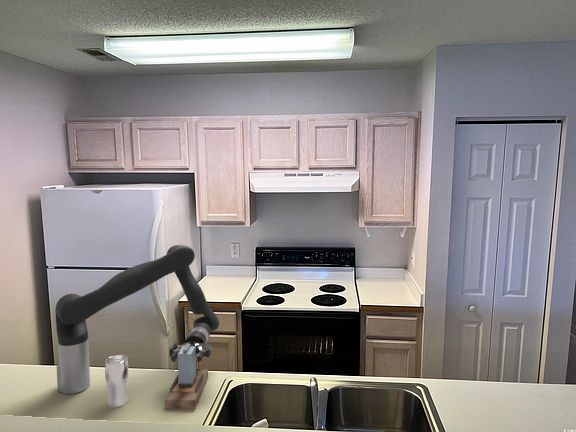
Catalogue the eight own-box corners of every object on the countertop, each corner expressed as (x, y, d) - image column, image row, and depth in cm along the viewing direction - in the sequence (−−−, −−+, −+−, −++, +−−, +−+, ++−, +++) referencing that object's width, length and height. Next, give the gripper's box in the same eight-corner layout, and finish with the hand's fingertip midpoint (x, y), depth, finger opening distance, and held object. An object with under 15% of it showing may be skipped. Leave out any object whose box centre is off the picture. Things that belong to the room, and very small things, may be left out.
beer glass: (123, 409, 125) (122, 364, 123) (102, 408, 125) (100, 363, 123) (132, 396, 132) (131, 354, 130) (112, 396, 132) (110, 354, 130)
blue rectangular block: (178, 388, 131) (177, 350, 130) (183, 378, 138) (182, 342, 136) (191, 388, 131) (191, 350, 130) (196, 378, 138) (195, 342, 136)
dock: (164, 408, 125) (164, 395, 125) (181, 377, 145) (181, 366, 145) (195, 408, 125) (195, 396, 125) (208, 377, 145) (208, 366, 145)
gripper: (178, 330, 147) (164, 348, 131) (215, 330, 147) (206, 349, 131) (178, 349, 148) (165, 370, 132) (215, 349, 148) (206, 370, 132)
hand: (185, 359), depth 132 cm, fingers open, 8 cm apart
